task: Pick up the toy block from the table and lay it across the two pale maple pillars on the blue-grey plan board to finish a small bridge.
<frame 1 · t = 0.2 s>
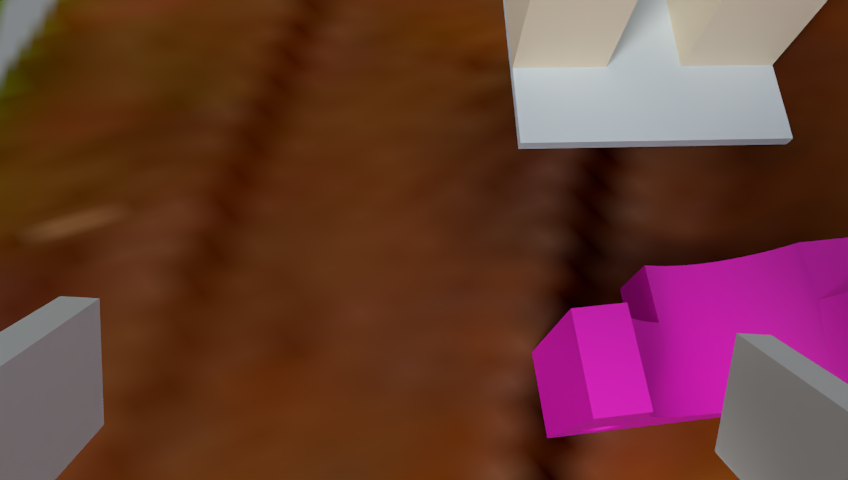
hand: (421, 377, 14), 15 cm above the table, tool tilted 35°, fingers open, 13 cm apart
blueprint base: (632, 35, 36), on the table
toy block: (692, 349, 30), on the table
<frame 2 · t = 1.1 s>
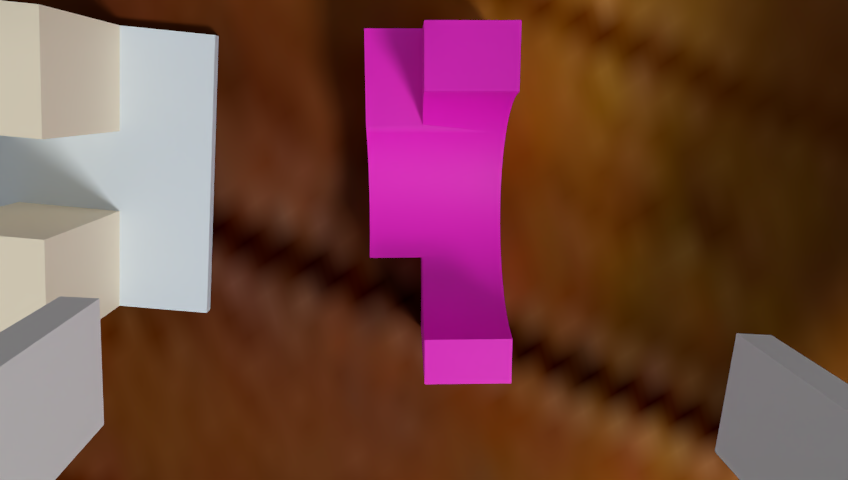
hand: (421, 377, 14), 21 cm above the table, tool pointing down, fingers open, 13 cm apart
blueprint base: (74, 165, 33), on the table
toy block: (432, 188, 34), on the table
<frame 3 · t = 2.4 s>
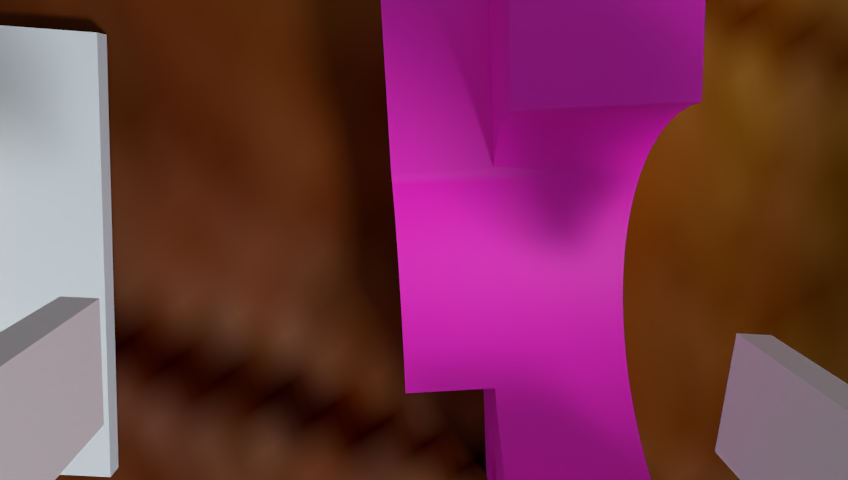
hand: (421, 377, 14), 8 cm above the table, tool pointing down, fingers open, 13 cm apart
toy block: (497, 257, 21), on the table
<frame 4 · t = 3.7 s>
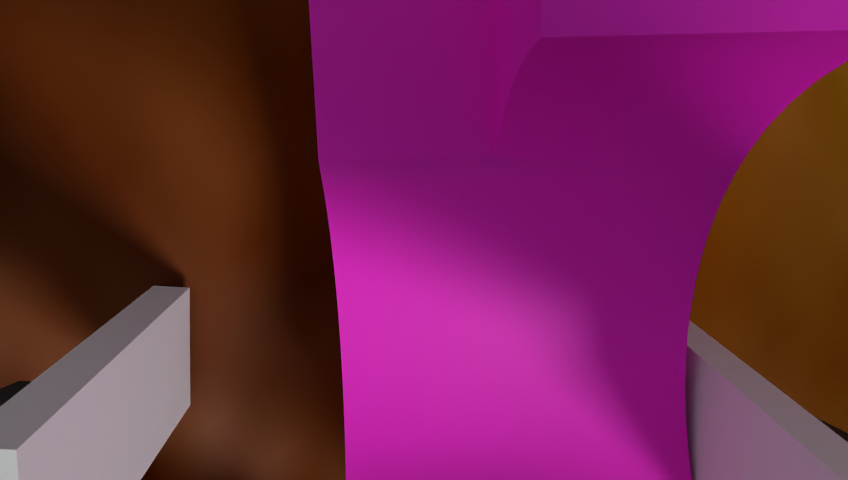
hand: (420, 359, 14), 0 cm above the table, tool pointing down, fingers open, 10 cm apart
toy block: (491, 289, 15), on the table
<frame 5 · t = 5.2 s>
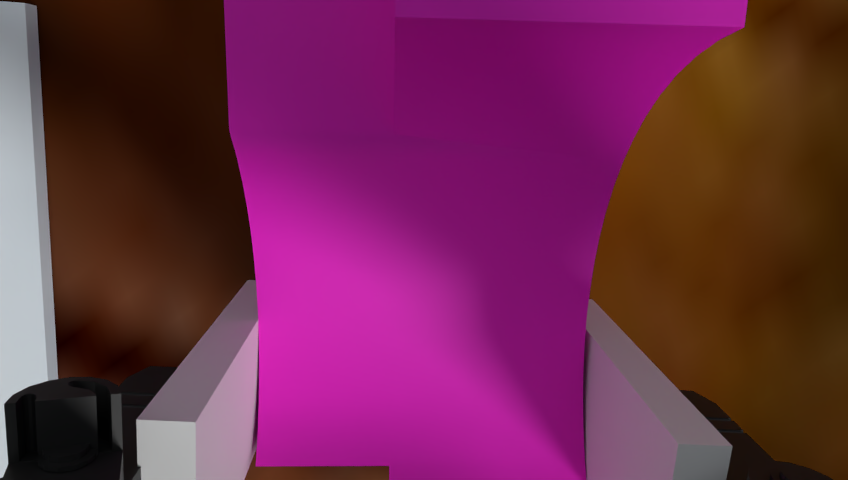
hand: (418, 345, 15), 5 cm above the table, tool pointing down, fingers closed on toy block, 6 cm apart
toy block: (418, 269, 15), point 4 cm above the table, touching gripper
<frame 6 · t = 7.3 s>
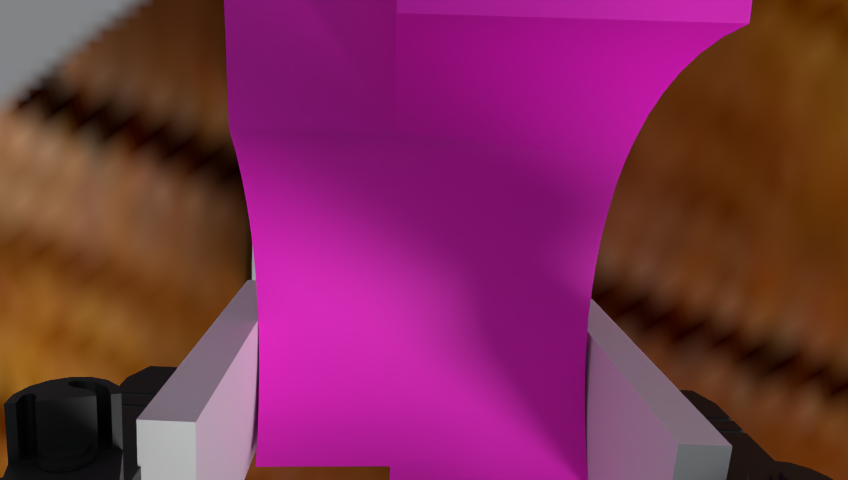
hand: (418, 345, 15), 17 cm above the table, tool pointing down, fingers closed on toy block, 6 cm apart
toy block: (419, 268, 15), point 17 cm above the table, touching gripper
when the fingers open (9 cm above the table, at t = 9.7 s): toy block stays where it is, resting on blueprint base.
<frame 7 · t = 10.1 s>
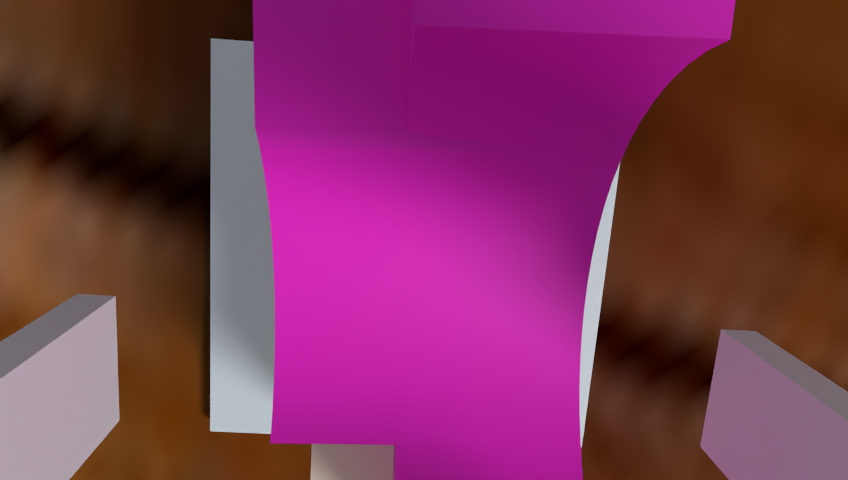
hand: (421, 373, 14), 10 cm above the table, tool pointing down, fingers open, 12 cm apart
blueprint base: (410, 255, 24), on the table
toy block: (424, 262, 16), point 7 cm above the table, touching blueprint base
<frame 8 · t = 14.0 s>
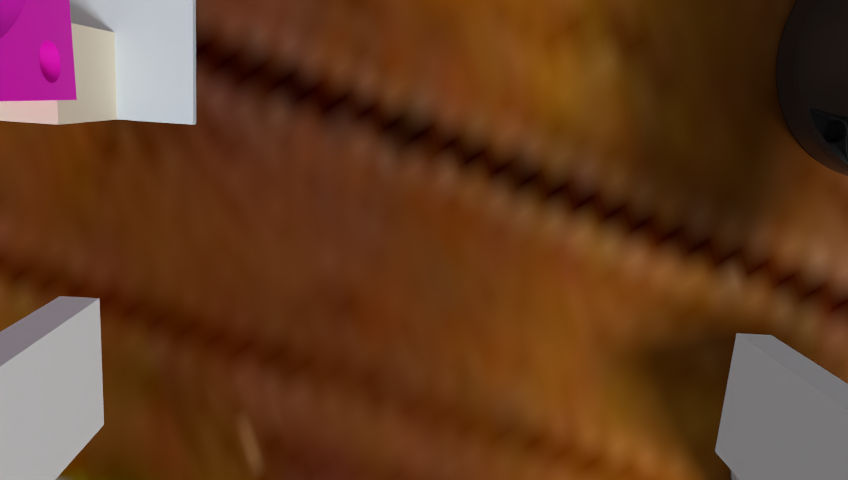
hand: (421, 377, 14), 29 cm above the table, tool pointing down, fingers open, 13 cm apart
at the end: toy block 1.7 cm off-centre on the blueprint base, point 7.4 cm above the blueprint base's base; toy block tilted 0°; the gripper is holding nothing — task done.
